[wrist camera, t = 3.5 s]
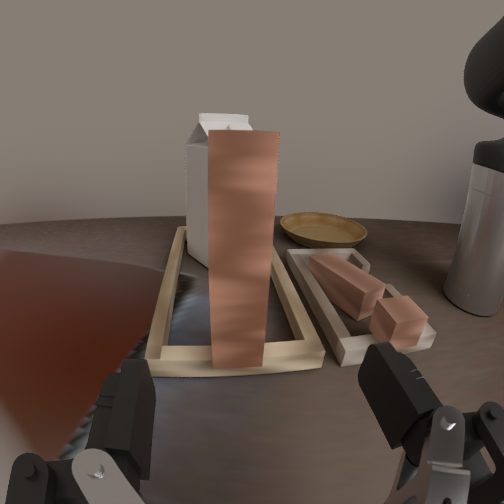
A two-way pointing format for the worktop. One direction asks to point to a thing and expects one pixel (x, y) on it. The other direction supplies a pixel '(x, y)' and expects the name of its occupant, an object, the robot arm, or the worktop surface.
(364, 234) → the plant saucer
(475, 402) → the worktop surface
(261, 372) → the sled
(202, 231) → the milk carton
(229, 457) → the worktop surface
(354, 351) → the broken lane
